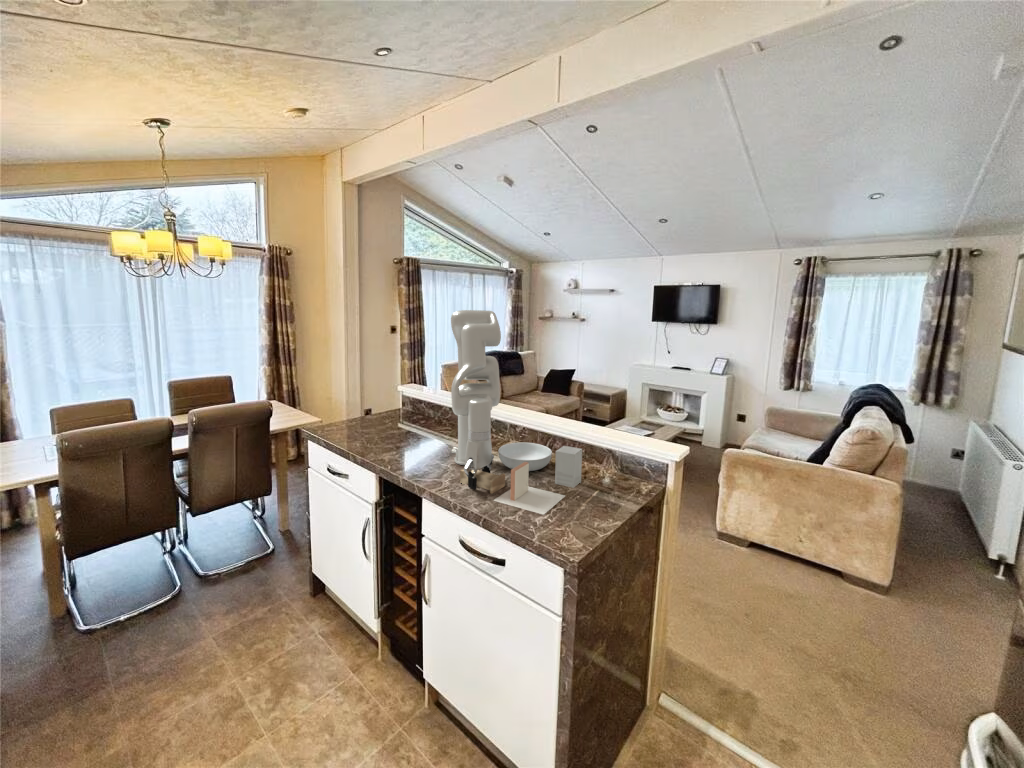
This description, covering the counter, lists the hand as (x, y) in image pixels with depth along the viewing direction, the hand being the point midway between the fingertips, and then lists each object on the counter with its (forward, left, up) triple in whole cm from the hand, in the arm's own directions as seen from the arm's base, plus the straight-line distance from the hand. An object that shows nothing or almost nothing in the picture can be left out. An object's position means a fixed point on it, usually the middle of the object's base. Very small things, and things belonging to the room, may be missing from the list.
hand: (479, 483), depth 152 cm
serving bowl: (+4, +25, -1) cm, 25 cm away
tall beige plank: (0, 0, -1) cm, 1 cm away
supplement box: (+25, +19, -1) cm, 31 cm away
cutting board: (+20, 0, -1) cm, 20 cm away
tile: (+16, 0, 0) cm, 16 cm away
